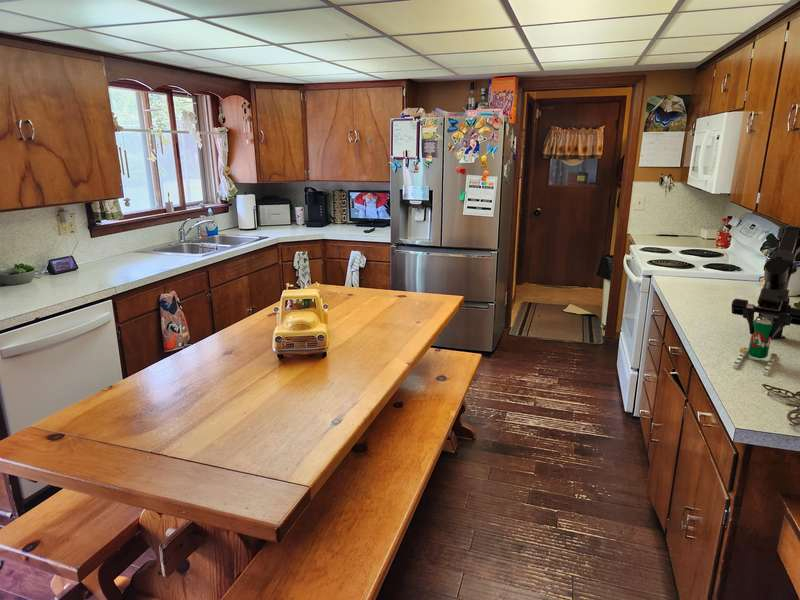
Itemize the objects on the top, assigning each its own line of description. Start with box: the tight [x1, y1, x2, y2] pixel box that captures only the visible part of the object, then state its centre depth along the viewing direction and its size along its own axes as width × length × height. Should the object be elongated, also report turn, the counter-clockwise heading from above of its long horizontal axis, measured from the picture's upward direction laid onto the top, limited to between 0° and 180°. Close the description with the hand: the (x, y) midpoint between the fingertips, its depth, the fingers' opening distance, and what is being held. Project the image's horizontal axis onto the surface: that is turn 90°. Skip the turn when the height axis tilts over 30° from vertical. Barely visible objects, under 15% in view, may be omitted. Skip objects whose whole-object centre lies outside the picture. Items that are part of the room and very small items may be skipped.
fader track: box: [732, 345, 778, 377], centre depth 160 cm, size 20×8×2 cm, turn 139°
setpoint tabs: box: [739, 347, 778, 361], centre depth 163 cm, size 2×10×1 cm, turn 49°
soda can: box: [747, 316, 774, 359], centre depth 160 cm, size 5×5×12 cm
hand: (761, 335), depth 159 cm, fingers closed on soda can, 5 cm apart
